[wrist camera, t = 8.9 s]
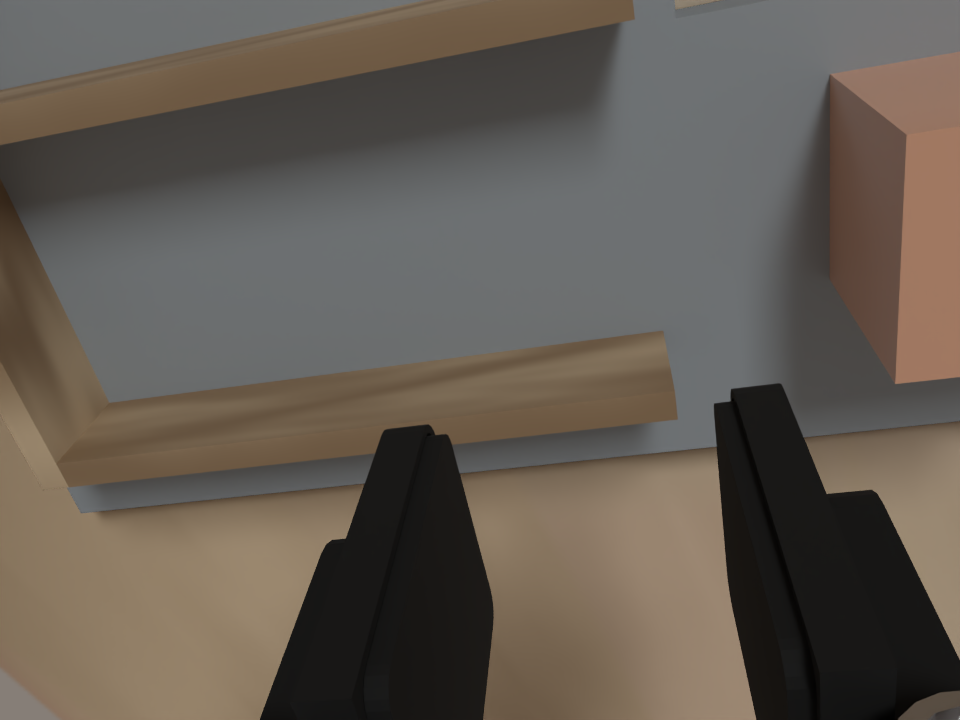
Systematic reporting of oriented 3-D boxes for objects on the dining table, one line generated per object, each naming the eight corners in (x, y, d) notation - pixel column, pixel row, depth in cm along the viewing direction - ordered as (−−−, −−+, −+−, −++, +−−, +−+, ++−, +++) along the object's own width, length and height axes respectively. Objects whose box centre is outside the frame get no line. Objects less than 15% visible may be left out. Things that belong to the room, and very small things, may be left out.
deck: (-215, -109, 20) (-258, -108, 19) (1160, -487, 15) (1205, -514, 14) (98, 489, 29) (81, 513, 27) (1042, 386, 23) (1064, 409, 22)
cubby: (-67, 104, 21) (-157, 136, 18) (621, -42, 18) (630, -27, 15) (96, 427, 26) (43, 490, 23) (666, 356, 23) (677, 419, 20)
